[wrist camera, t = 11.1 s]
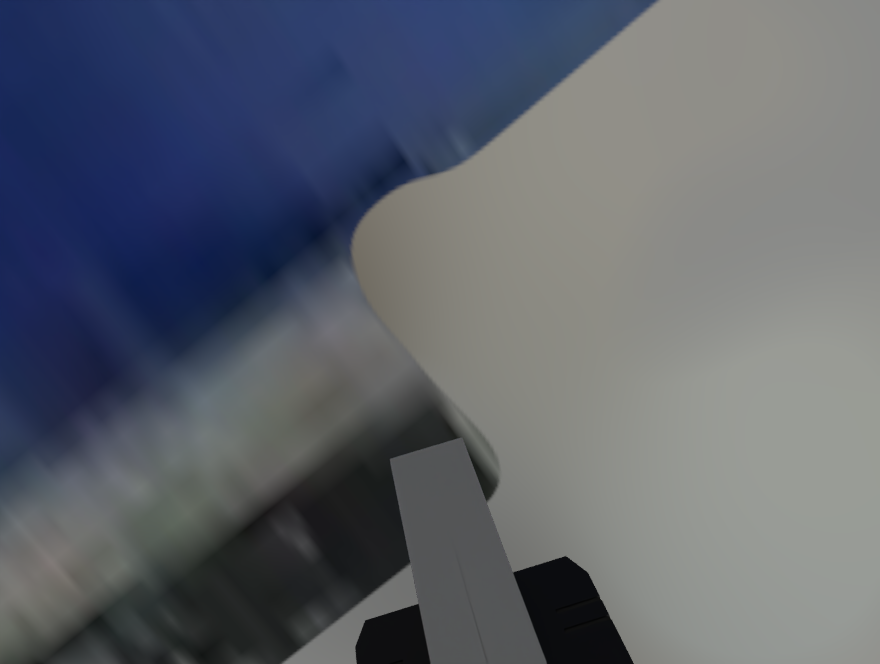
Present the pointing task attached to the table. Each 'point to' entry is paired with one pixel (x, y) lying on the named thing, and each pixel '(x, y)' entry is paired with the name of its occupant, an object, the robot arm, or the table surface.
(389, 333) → the table surface
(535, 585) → the robot arm
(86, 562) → the table surface
